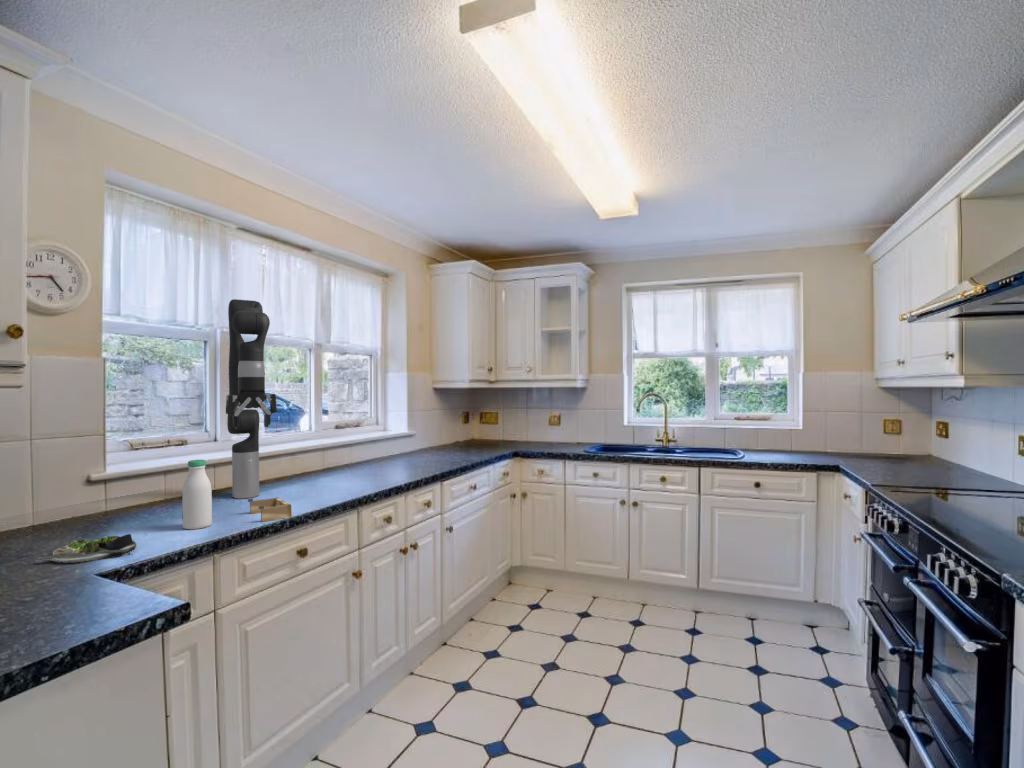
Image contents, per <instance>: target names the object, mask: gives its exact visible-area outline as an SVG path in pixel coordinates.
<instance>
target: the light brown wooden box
mask: <svg viewBox="0 0 1024 768" xmlns="http://www.w3.org/2000/svg"><path fill="white" fill-rule="evenodd" d="M247 502H248V503H249V514H251V515H253V514H259V513H260V521H261V523H264V522H265V521H266V522H271V521H270V520H272V521H276V520H275V519H278V520H282V519H281V518H285V519H287V518H286V517H291V518H292V504H290V503H289V502H287V501H286V500H283V499H281V498H279V497H271V498H264V499H257V500H254V499H253V498H247Z"/></svg>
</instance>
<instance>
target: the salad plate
mask: <svg viewBox="0 0 1024 768" xmlns="http://www.w3.org/2000/svg"><path fill="white" fill-rule="evenodd" d="M136 548H137V542H136V541H135V540H134V539H133V537H132V534H131V533H128V534H125V535H122V536H119V535H107V536H106V535H105V536H102V537H101V536H99V537H97V538H95V539H94V540H87V539H84V538H83V539H80V540H73V541H71V542H70V544H66V545H64V546H63V545H62V546H61V547H59V548H56V549H54V550H53V551H52V554H49V555H48V554H47V555H42V556H39V557H37V559H38V561H51V562H55V563H61V562H63V563H64V564H76V563H77V562H80V563H85V562H84V561H87V562H91V561H90V560H92V561H96V560H95V559H98V560H102V559H101V558H104V559H108V558H107V557H110V558H113V557H112V556H115V557H119V556H118V555H120V556H123V555H122V554H124V555H126V554H125V553H127V554H129V553H131V552H133V551H135V549H136ZM132 550H133V551H132ZM130 551H131V552H130ZM128 552H129V553H128ZM77 564H78V563H77Z"/></svg>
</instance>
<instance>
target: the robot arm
mask: <svg viewBox="0 0 1024 768" xmlns="http://www.w3.org/2000/svg"><path fill="white" fill-rule="evenodd" d="M227 313H228V333H229V334H228V335H229V349H228V350H229V351H228V353H229V354H228V389H229V390H228V393H229V394H227V395H226V397H225V398H226V399H225V400H226V402H225V415H227V418H226V419H227V421H226V423H227V431H228V433H230V434H232V435H239V434H242V435H244V434H249V436H248V437H246V438H245V439H243V440H241V441H238V442H236V443H234V444H232V447H231V463H232V464H231V469H232V471H231V474H232V475H231V477H232V479H231V482H232V483H231V484H232V486H231V489H232V490H231V491H232V498H233V497H234V498H233V499H251V498H255V497H258V496H259V495H260V451H259V450H260V446H259V445H260V443H259V442H260V441H259V439H260V437H259V435H260V434H259V433H260V432H259V431H260V414H259V413H260V412H259V411H258V410H257V409H260V410H261V411H262V412H263V413H264V415H263V420H264V421H263V424H264V425H263V426H264V427H265V428H268V427H269V426H270V425H271V424H272V422H271V416H272V414H274V413H277V412H278V410H277V408H278V407H277V396H276V394H275V393H270V394H267V393H266V372H265V368H266V367H265V358H264V357H265V356H264V355H265V354H264V350H265V341H266V339H267V338H266V337H267V334H268V331H269V329H270V324H271V322H270V320H271V319H270V317H269V316H268V315H267V314H266V313H265V312H263V306H262V304H261V302H260V301H256V300H248V299H235V298H234V299H231V300H230V301H229V303H228V311H227ZM242 335H254V336H255V335H256V338H255V339H253V340H249V341H245V340H244V338H243V336H242ZM266 399H267V401H268V402H269V407H270V409H269V408H268V407H267V406H266V404H265V401H266Z"/></svg>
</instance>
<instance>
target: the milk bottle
mask: <svg viewBox="0 0 1024 768" xmlns="http://www.w3.org/2000/svg"><path fill="white" fill-rule="evenodd" d="M206 465H207V463H206V459H193V460H189V461H188V462H187V468H188V473H187V476H186V479H185V481H184V483H183V485H182V493H181V494H182V495H181V498H182V499H181V503H182V504H181V508H182V509H181V510H182V511H181V514H182V515H181V517H182V519H181V521H182V522H181V523H182V528H183V530H199V529H203V528H207V527H210V526H211V525H212V523H213V505H212V504H213V503H212V502H213V495H212V493H213V492H212V491H213V490H212V485H211V481H210V478H209V477H208V476H207V472H206Z"/></svg>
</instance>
